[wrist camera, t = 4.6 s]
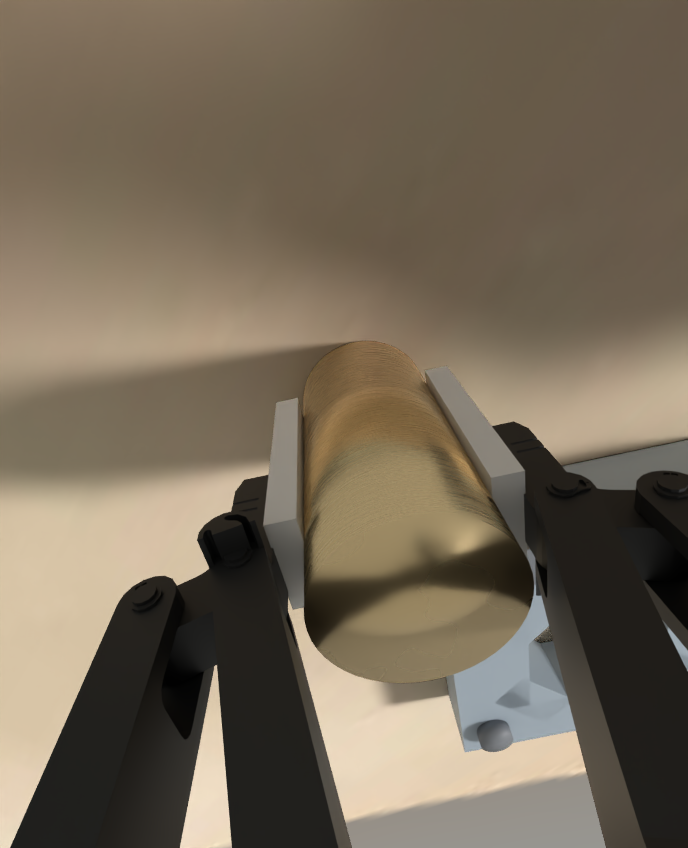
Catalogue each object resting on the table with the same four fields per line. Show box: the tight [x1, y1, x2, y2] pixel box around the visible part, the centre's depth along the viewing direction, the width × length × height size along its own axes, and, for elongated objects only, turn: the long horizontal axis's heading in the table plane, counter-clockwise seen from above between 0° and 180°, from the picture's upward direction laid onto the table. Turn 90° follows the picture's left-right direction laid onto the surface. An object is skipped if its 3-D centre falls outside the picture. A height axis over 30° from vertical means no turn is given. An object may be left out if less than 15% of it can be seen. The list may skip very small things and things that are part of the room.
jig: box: [446, 440, 688, 752], centre depth 22 cm, size 14×13×4 cm
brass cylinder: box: [303, 341, 534, 683], centre depth 14 cm, size 5×5×10 cm
